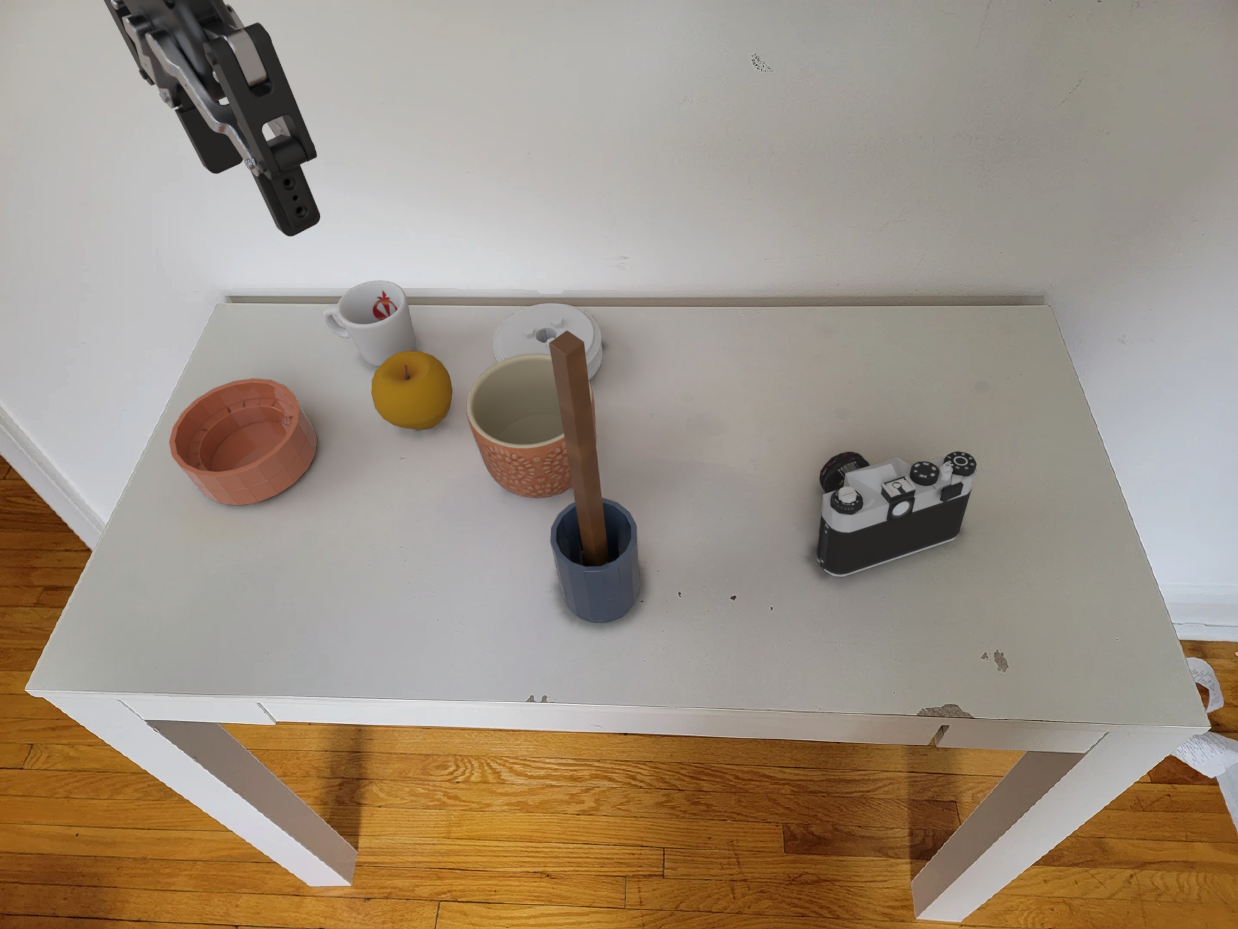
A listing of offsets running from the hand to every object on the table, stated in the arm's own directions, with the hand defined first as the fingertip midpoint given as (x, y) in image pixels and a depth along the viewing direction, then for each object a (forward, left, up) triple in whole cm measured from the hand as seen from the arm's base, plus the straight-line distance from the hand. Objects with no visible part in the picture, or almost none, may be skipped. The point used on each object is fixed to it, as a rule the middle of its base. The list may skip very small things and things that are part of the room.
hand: (262, 195), depth 43 cm
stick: (+9, -14, -41) cm, 44 cm away
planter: (+15, +1, -42) cm, 44 cm away
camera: (+33, -28, -42) cm, 60 cm away
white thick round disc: (+26, +12, -42) cm, 51 cm away
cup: (+13, +29, -42) cm, 53 cm away
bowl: (-6, +25, -42) cm, 49 cm away
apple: (+10, +16, -42) cm, 46 cm away
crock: (+9, -14, -42) cm, 45 cm away
